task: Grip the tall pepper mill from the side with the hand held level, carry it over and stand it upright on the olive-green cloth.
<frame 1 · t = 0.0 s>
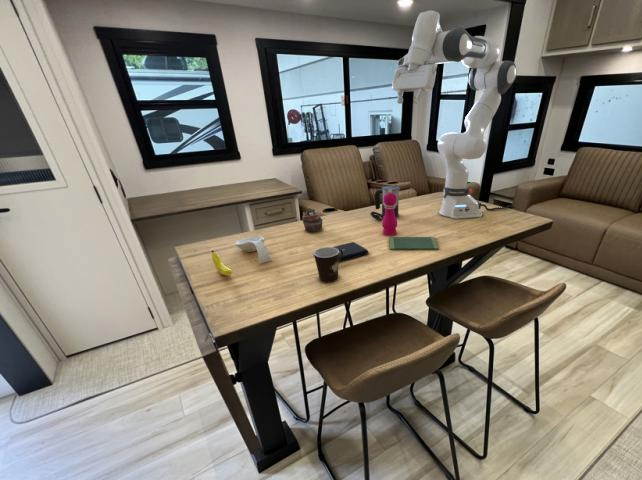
hand: (407, 103, 126), 52 cm above the table, tool tilted 20°, fingers open, 8 cm apart
laptop: (341, 254, 130), on the table
pepper mill: (389, 233, 149), on the table
cupcake: (313, 230, 155), on the table
milk frother: (384, 217, 169), on the table
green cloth: (412, 243, 137), on the table
spoon rest: (256, 253, 132), on the table
coffee mug: (332, 277, 113), on the table
banana: (225, 274, 116), on the table
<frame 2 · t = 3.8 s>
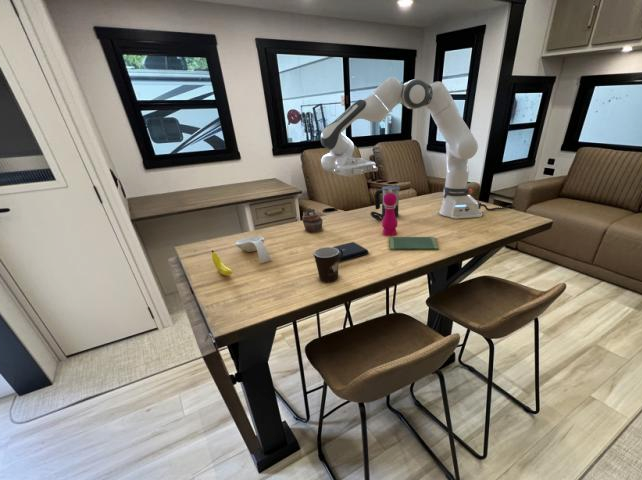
hand: (369, 170, 141), 27 cm above the table, tool horizontal, fingers open, 8 cm apart
nothing on the table moved.
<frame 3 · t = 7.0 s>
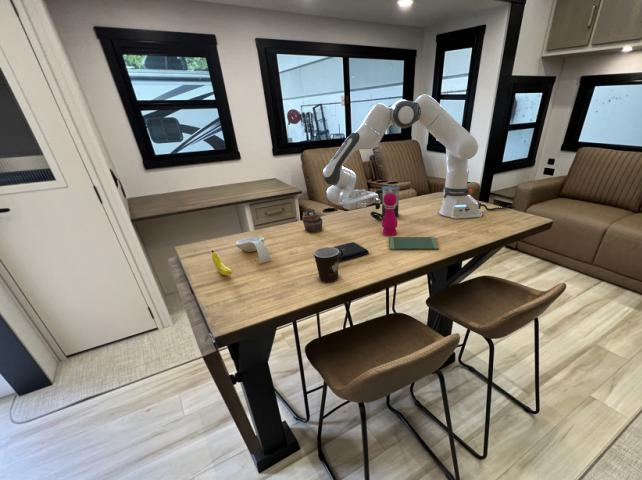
hand: (373, 203, 148), 12 cm above the table, tool horizontal, fingers open, 8 cm apart
nothing on the table moved.
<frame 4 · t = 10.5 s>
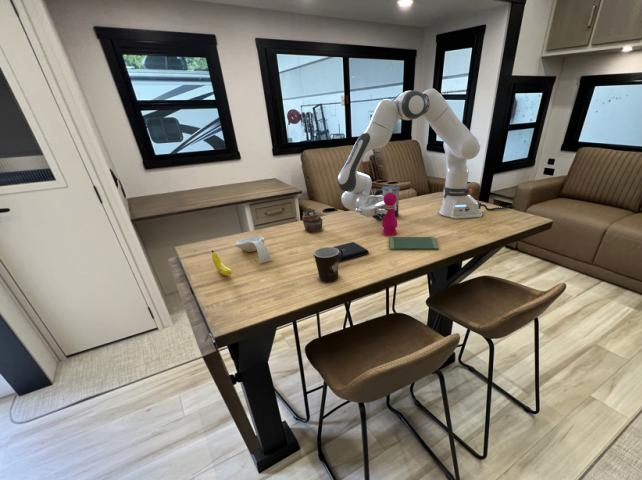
hand: (391, 210, 142), 11 cm above the table, tool horizontal, fingers closed on pepper mill, 5 cm apart
pepper mill: (389, 233, 149), on the table, touching gripper
everything else where it was.
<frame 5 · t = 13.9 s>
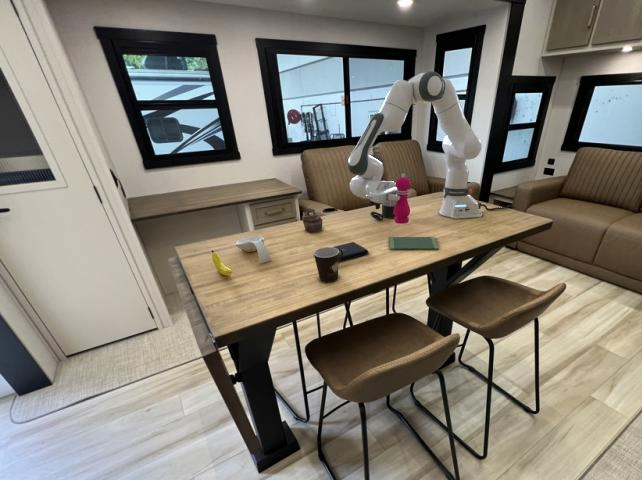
hand: (404, 196, 133), 19 cm above the table, tool horizontal, fingers closed on pepper mill, 5 cm apart
pepper mill: (401, 221, 139), point 8 cm above the table, touching gripper
everything else where it was.
when the fingers open (12 cm above the table, at t = 17.7 s): pepper mill stays where it is, resting on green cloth.
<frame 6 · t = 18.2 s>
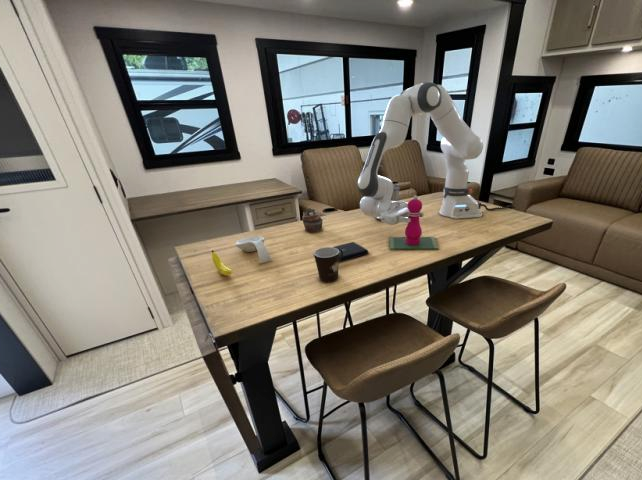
hand: (416, 217, 131), 12 cm above the table, tool horizontal, fingers open, 8 cm apart
pepper mill: (412, 242, 137), resting on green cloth
everything else where it was.
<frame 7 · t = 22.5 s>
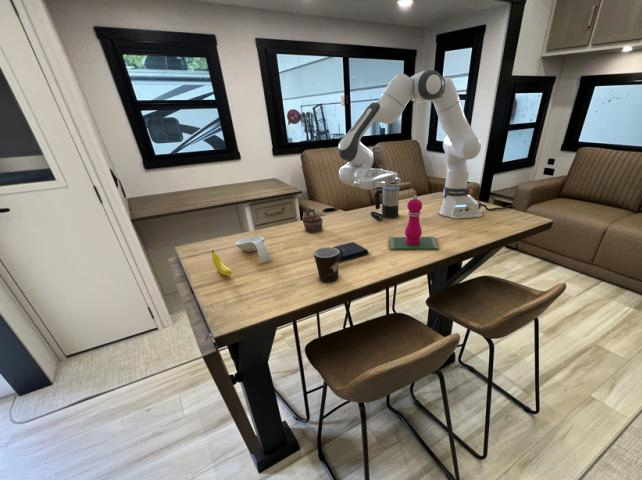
hand: (392, 182, 132), 24 cm above the table, tool horizontal, fingers open, 8 cm apart
nothing on the table moved.
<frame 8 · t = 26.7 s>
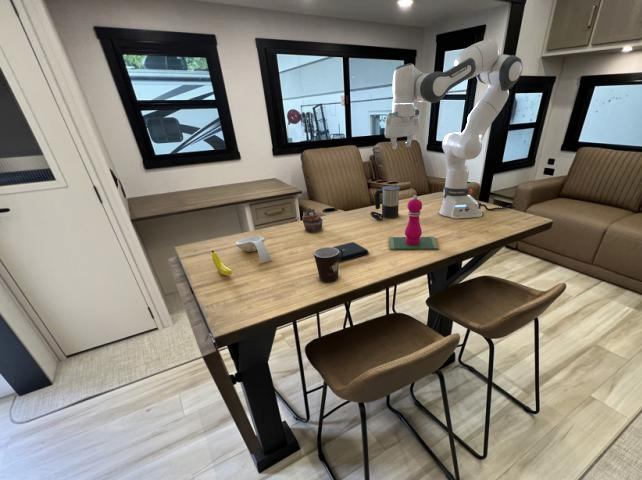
hand: (401, 147, 140), 35 cm above the table, tool pointing down, fingers open, 8 cm apart
nothing on the table moved.
at the end: pepper mill inside the target area on the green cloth (0.2 cm from its centre), point 0.4 cm above the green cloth's base; pepper mill tilted 0°; the gripper is holding nothing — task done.
